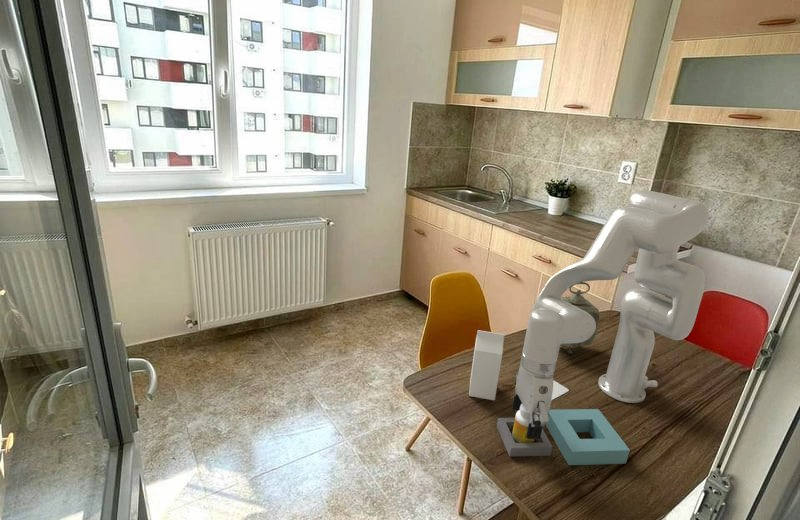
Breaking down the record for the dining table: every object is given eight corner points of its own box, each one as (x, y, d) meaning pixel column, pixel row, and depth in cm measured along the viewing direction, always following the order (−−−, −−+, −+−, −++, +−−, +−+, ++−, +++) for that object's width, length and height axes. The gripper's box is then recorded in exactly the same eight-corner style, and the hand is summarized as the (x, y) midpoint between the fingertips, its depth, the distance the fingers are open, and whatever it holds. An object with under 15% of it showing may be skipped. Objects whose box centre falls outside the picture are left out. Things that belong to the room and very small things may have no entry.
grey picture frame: (534, 425, 112) (536, 417, 111) (550, 455, 102) (552, 447, 101) (496, 425, 111) (498, 417, 110) (509, 456, 101) (511, 448, 100)
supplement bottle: (523, 451, 103) (530, 418, 100) (506, 437, 107) (512, 404, 104) (538, 443, 106) (545, 410, 102) (521, 429, 110) (528, 397, 107)
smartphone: (517, 394, 123) (550, 377, 131) (516, 395, 123) (549, 379, 132) (537, 408, 118) (570, 390, 126) (537, 410, 118) (570, 391, 126)
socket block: (595, 421, 114) (598, 409, 113) (625, 463, 101) (630, 450, 100) (544, 422, 113) (546, 409, 111) (568, 465, 100) (572, 451, 98)
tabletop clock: (579, 342, 152) (594, 277, 143) (593, 357, 144) (610, 288, 135) (540, 343, 150) (553, 276, 141) (552, 358, 142) (567, 288, 133)
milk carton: (494, 401, 120) (504, 341, 113) (468, 396, 121) (477, 336, 114) (494, 385, 126) (504, 328, 120) (470, 381, 127) (478, 324, 121)
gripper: (571, 386, 91) (555, 450, 97) (539, 342, 107) (527, 399, 113) (536, 385, 90) (522, 450, 96) (509, 341, 106) (499, 399, 112)
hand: (525, 423), depth 104 cm, fingers open, 9 cm apart
